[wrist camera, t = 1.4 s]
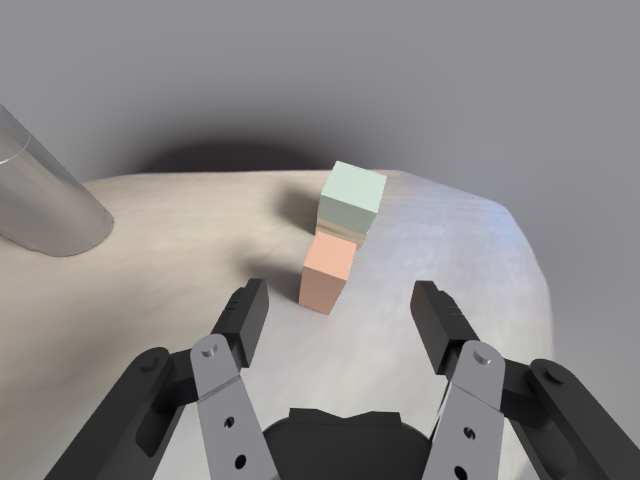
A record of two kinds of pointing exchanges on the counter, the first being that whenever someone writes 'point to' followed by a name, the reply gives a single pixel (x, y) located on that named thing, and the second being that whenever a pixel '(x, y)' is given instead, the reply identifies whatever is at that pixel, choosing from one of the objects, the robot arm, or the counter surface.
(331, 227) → the tower base block
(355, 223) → the tower top block
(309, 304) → the peach block
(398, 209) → the counter surface
